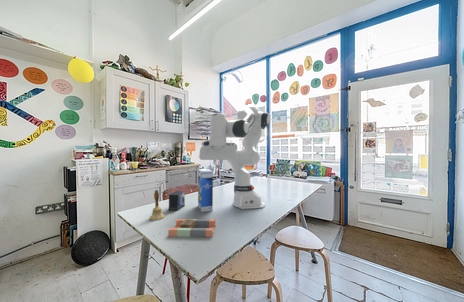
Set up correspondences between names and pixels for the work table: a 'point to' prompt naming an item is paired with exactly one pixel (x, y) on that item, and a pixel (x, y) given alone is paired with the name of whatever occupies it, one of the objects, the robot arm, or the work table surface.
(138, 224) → the work table surface
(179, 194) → the small box
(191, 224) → the walnut block
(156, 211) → the hand bell
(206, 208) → the string lights box
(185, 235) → the multicolored rectangular frame
